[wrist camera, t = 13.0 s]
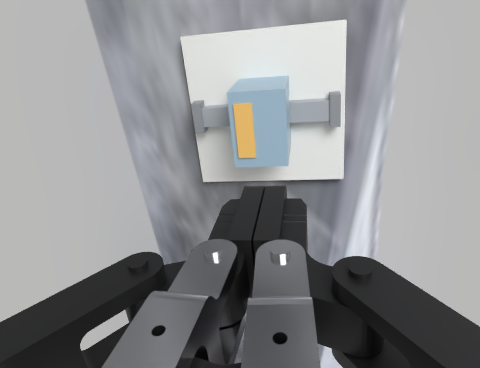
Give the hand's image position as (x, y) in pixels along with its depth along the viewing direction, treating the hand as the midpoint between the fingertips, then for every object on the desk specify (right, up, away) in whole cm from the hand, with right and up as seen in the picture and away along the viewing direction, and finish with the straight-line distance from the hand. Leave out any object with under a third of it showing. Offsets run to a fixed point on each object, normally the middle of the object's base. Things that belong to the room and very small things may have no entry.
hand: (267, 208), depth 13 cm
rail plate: (+2, +9, +26) cm, 27 cm away
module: (+2, +8, +25) cm, 26 cm away
